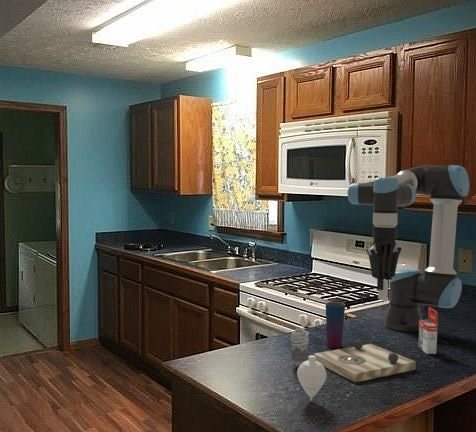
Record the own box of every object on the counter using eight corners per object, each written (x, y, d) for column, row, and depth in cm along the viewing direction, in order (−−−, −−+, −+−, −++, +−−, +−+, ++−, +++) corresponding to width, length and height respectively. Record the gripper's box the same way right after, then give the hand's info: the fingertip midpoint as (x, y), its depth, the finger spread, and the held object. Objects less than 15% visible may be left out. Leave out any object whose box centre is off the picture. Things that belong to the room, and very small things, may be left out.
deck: (371, 350, 183) (371, 343, 183) (415, 369, 165) (415, 361, 165) (313, 361, 172) (314, 353, 172) (354, 382, 154) (355, 373, 154)
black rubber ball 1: (358, 347, 179) (358, 338, 179) (364, 349, 176) (364, 340, 176) (351, 348, 178) (351, 339, 177) (357, 350, 175) (357, 342, 175)
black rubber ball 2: (393, 360, 166) (393, 350, 166) (400, 363, 164) (400, 353, 163) (385, 361, 165) (386, 352, 165) (392, 364, 162) (393, 355, 162)
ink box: (426, 354, 180) (427, 311, 179) (417, 346, 188) (418, 306, 187) (436, 354, 180) (438, 311, 179) (427, 346, 188) (429, 306, 187)
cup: (344, 349, 184) (345, 306, 183) (324, 348, 185) (325, 305, 184) (344, 343, 191) (345, 302, 190) (324, 342, 192) (325, 301, 191)
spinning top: (293, 403, 139) (294, 358, 138) (300, 393, 146) (301, 350, 145) (322, 408, 136) (323, 362, 135) (328, 397, 143) (329, 353, 142)
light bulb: (287, 364, 168) (287, 327, 167) (302, 362, 170) (303, 325, 170) (296, 370, 163) (296, 332, 162) (311, 368, 165) (312, 330, 165)
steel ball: (351, 356, 168) (343, 356, 167) (358, 359, 165) (350, 359, 164) (350, 366, 168) (342, 366, 167) (357, 369, 165) (349, 369, 164)
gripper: (391, 224, 176) (389, 295, 177) (361, 225, 170) (359, 299, 171) (408, 226, 169) (406, 299, 171) (377, 227, 163) (375, 304, 165)
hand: (382, 299), depth 171 cm, fingers closed
